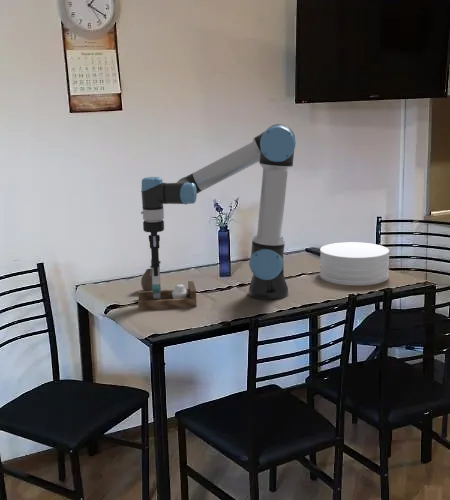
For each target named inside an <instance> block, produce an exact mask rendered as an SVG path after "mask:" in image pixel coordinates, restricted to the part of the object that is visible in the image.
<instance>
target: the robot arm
mask: <svg viewBox="0 0 450 500" xmlns="http://www.w3.org/2000/svg"><path fill="white" fill-rule="evenodd" d="M295 149H296V136H295V134H294V132H293V130H292V129H291V128H290V127H289V126H287V125H285V124H282V123H277V124H273V125H271V126H269V127H268V128H267V129H266V130H265V131H263V132H261V133H260V134H259V135H257V136H254V137H253V138H252V141H251V142H249V143H247V144H245V145H244V146H242V147H240V148H238V149H235V150H234V151H232V152H230V153H228V154H227V155H225V156H223V157H220V158H219V159H217V160H215V161H213V162H210V163H209V164H207V165H206V166H205V165H204V167H202V168H199V169H198V170H196V171H194V172H192V173H191V174H188V175H186V176H184V177H181V178H180V179H179V180H177V182H163V178H162V177H160V176H146V177H144V178H142V180H141V190H140V192H141V203H142V211H141V212H140V214H141V215H142V219H143V222H142V226H143V231H144V232H145V233H150V235H148V241H149V249H150V250H151V252H150V253H151V260H152V266H151V265H150V266H149V267H150V268H149V269H151V268H152V282H153V285H154V284H160V285H161V273H160V272H161V271H160V272H159V265H160V264H161V260H160V259H159V256H160V255H159V249H160V240H161V239H160V238H161V236H160V234H158V233H160V232H163V231H164V230H165V221H164V218H165V215H164V214H165V212H164V205H169V204H170V205H177V204H178V205H191V204H192V205H193V204H195V203H196V201H197V196H198V195H197V194H200V193H201V192H203V191H205V190H207V189H209V188H211V187H213V186H214V185H216V184H218V183H220V182H222V181H225V180H226V179H228V178H230V177H232V176H234V175H236V174H238V173H239V172H242V171H244V170H245V169H249V167H252V166H253V165H255V164H256V165H257V164H259V165H260V166H261V167H262V179H261V187H260V189H261V190H260V198H259V199H260V200H259V201H260V202H259V209H258V221H257V222H258V224H257V231H256V235H254V236H253V238H252V241H251V253H250V259H249V260H248V261H249V262H248V264H249V268H250V271H251V273H252V277H251V280H250V282H249V283H250V284H249V288H248V296H249V297H251V298H255V299H258V300H277V299H278V300H279V299H282V298H286V297H288V295H289V287H288V284H287V282H286V281H287V280H286V277H285V275H284V273H285V272H284V265H285V263H284V262H285V261H284V257H285V255H284V254H285V243H286V241H284V237H283V236H282V233H283V231H282V230H283V223H284V211H285V203H286V192H287V183H288V173H289V170H290V169H291V168H292V167H294V159H295V158H294V154H295ZM151 260H150V261H151Z"/></svg>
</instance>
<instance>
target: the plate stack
mask: <svg viewBox="0 0 450 500" xmlns="http://www.w3.org/2000/svg"><path fill="white" fill-rule="evenodd" d="M319 252H320V256H319V259H320V260H319V265H320V267H319V277H320V279H322V280H323V281H326V282H329V283H331V284H332V283H333V284H337V285H338V284H339V285H343V286H344V285H346V286H370V285H377V284H381V283H384V282H385V281H388V279H389V266H390V263H389V261H390V249H389V248H387V247H386V246H383V245H380V244H376V243H369V242H360V241H359V242H358V241H356V242H355V241H352V242H351V241H347V242H344V241H343V242H334V243H329V244H324V245H323V246H321V247H320V248H319Z"/></svg>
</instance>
